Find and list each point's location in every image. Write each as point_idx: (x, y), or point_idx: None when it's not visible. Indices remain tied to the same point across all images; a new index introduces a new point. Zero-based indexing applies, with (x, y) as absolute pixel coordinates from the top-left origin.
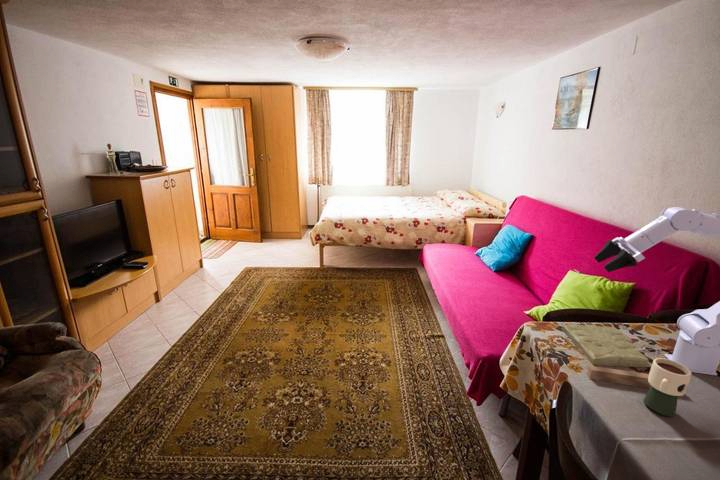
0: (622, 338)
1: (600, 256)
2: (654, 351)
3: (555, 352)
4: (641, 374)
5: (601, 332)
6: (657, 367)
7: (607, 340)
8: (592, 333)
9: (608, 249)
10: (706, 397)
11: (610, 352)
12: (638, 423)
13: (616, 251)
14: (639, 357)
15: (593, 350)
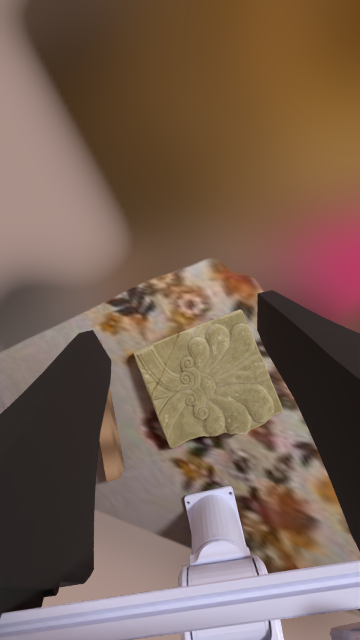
0: (232, 417)
1: (276, 330)
2: (237, 471)
3: (145, 296)
4: (104, 420)
5: (239, 380)
6: None
7: (207, 386)
8: (224, 361)
9: (333, 393)
10: (118, 509)
11: (159, 383)
12: (12, 391)
13: (349, 480)
14: (165, 432)
15: (154, 354)
